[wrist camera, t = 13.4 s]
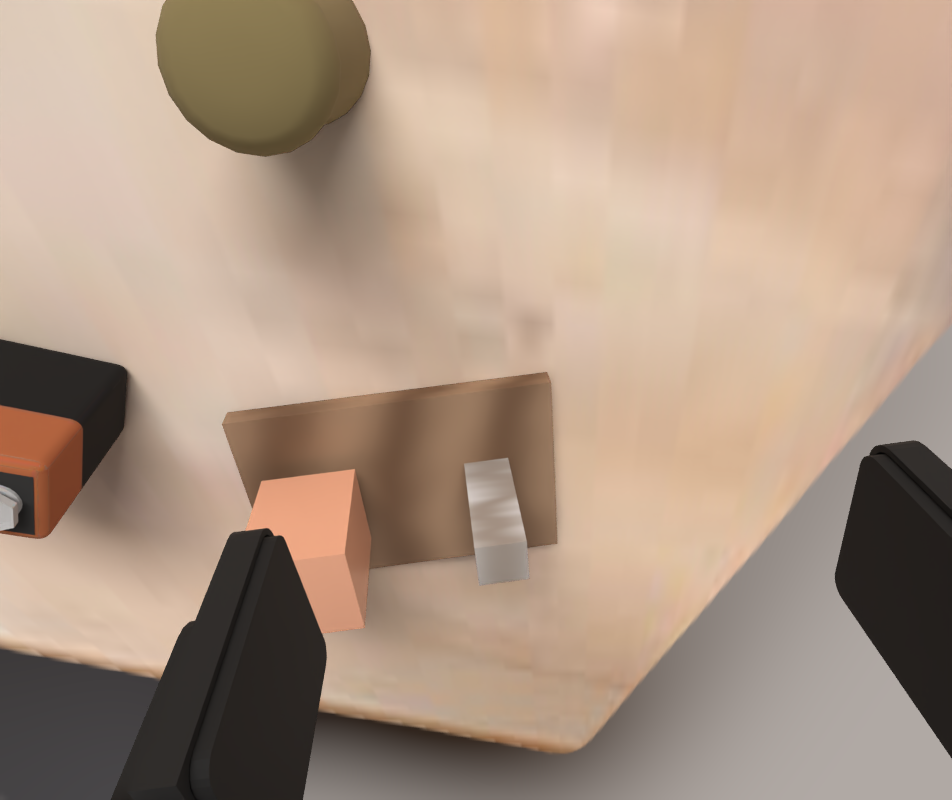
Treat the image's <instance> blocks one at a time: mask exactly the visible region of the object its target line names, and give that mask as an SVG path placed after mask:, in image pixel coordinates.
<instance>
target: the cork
mask: <svg viewBox="0 0 952 800" xmlns="http://www.w3.org/2000/svg"><path fill="white" fill-rule="evenodd" d="M156 44H157V57H158V66H159V69H160V72H161V74H162V77H163V80H164V83H165V85H166V88H167V91H168V93H169V95H170V97H171V98H172V100H173V101H174V103H175V104H176V106H177V107H178V108H179V110H180V111H181V113H182V114H183V116H184V117H185V118H186V120H187V121H188V122H189V123H191V124H192V125H193V126H194V127H195V128H197V129H198V130H199V131H200V132H201V133H202V134H204V135H205V136H206V137H207V138H208V139H209V140H211V141H214V142H216V143H218V144H220V145H222V146H224V147H226V148H229V149H231V150H233V151H235V152H238V153H244V154H251V155H258V156H265V157H266V156H271V155H277V154H282V153H288V152H291V151H293V150H295V149H297V148H298V147H300V146H302V145H303V144H305V143H307V142H309V141H310V140H312V139H313V138H314V137H315V135H316V134H317V133H318V132H319V131H320V129H321V128H322V127H323V126H324V125H325V124H329V123H331V122H333V121H334V120H336V119H338V118H339V117H341V116H343V115H345V114H346V113H347V112H348V111H349V110H350V109H351V108H352V106H353V105H354V104H355V103H356V102H357V100H358V99H359V98H360V97H361V94H362V92H363V89H364V86H365V84H366V81H367V79H368V76H369V66H370V51H371V50H370V46H369V41H368V36H367V31H366V27H365V24H364V22H363V20H362V18H361V16H360V14H359V12H358V10H357V8H356V7H355V5H354V3H353V1H352V0H166V1H165V3H164V4H163V6H162V10H161V14H160V19H159V23H158V27H157V31H156Z"/></svg>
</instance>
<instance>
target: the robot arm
mask: <svg viewBox="0 0 952 800" xmlns="http://www.w3.org/2000/svg"><path fill="white" fill-rule="evenodd" d="M835 583H836V586H837V589H838V592H839V594H840V596H841V598H842V599H843V601H844V602H845V604H846V605H847V606H848V608H849V609H850V611H851V612H852V614H853V615H854V617H855V618H856V620H857V621H858V622H859V624H860V625H861V627H862V628H863V630H864V631H865V633H866V634H867V636H868V637H869V639H870V640H871V641H872V643H873V644H874V646H875V647H876V649H877V650H878V652H879V653H880V655H881V656H882V657H883V659H884V660H885V661H886V663H887V665H888V666H889V668H890V669H891V670H892V672H893V673H894V674H895V676H896V678H897V679H898V680H899V682H900V684H901V685H902V687H903V688H904V689H905V691H906V692H907V694H908V695H909V697H910V698H911V700H912V701H913V703H914V704H915V705H916V707H917V708H918V710H919V711H920V713H921V714H922V716H923V717H924V718H925V720H926V722H927V723H928V724H929V726H930V727H931V729H932V730H933V732H934V733H935V734H936V736H937V738H938V739H939V740H940V742H941V743H942V745H943V746H944V748H945V749H946V750H947V752H948V754H949V755H950V756H951V758H952V469H951V468H950V467H948V466H947V465H946V464H945V463H944V462H943V461H942V460H941V459H939V458H938V457H937V456H936V455H935V454H934V453H933V452H932V451H931V450H929V449H928V448H927V447H926V446H925V445H923V444H921V443H920V442H918V441H906V442H899V443H891V444H885V445H878V446H875V447H874V448H873V449H872V450H871V453H870V455H869V456H866V457H864V458H863V459H862V461H861V464H860V468H859V472H858V477H857V481H856V485H855V489H854V494H853V498H852V503H851V507H850V511H849V515H848V520H847V524H846V529H845V533H844V537H843V541H842V546H841V550H840V555H839V559H838V563H837V567H836V572H835ZM326 658H327V653H326V644H325V640H324V638H323V635H322V632H321V630H320V627H319V625H318V622H317V620H316V617H315V615H314V612H313V610H312V607H311V604H310V602H309V599H308V597H307V594H306V592H305V589H304V587H303V584H302V582H301V579H300V576H299V574H298V571H297V569H296V566H295V564H294V561H293V559H292V556H291V553H290V551H289V548H288V546H287V543H286V541H285V539H284V537H283V536H282V535H278V536H274V535H273V533H272V531H271V530H270V529H269V528H263V529H255V530H248V531H241V532H233V533H232V534H231V535H230V536H229V538H228V540H227V542H226V545H225V547H224V550H223V552H222V555H221V557H220V560H219V562H218V565H217V567H216V570H215V572H214V575H213V577H212V580H211V582H210V585H209V587H208V590H207V592H206V595H205V597H204V600H203V603H202V605H201V608H200V610H199V613H198V615H197V618H196V620H195V621H192V622H189V623H188V624H187V625H186V626H185V627H183V629H182V631H181V633H180V635H179V636H178V639H177V641H176V643H175V646H174V648H173V651H172V653H171V656H170V658H169V660H168V663H167V665H166V668H165V670H164V672H163V675H162V677H161V680H160V682H159V684H158V687H157V689H156V692H155V694H154V697H153V699H152V702H151V704H150V706H149V709H148V711H147V713H146V716H145V718H144V721H143V723H142V725H141V728H140V730H139V733H138V735H137V738H136V740H135V742H134V745H133V747H132V750H131V752H130V754H129V757H128V759H127V762H126V764H125V766H124V769H123V772H122V774H121V776H120V779H119V781H118V784H117V786H116V788H115V791H114V793H113V795H112V798H111V800H303V795H304V790H305V784H306V778H307V772H308V766H309V760H310V754H311V749H312V743H313V737H314V731H315V725H316V720H317V714H318V708H319V702H320V696H321V690H322V685H323V679H324V673H325V667H326Z"/></svg>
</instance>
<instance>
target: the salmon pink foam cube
mask: <svg viewBox="0 0 952 800" xmlns="http://www.w3.org/2000/svg"><path fill="white" fill-rule="evenodd" d="M263 528H269V529H270V530H271V531H272V533H273V535H274V536H278V535H282V536H283V537H284V539H285V541H286V543H287V546H288V548H289V551H290V553H291V556H292V559H293V561H294V564H295V566H296V569H297V571H298V574H299V576H300V579H301V582H302V584H303V587H304V589H305V592H306V594H307V597H308V599H309V602H310V604H311V607H312V610H313V612H314V615H315V617H316V620H317V622H318V625H319V627H320V630H321V632H322V633H330V632H337V631H344V630H352V629H359V628H365V618H366V604H367V591H368V577H369V564H370V550H371V534H370V530H369V526H368V522H367V518H366V513H365V509H364V505H363V501H362V497H361V492H360V488H359V484H358V480H357V476H356V472H355V469H351V470H344V471H336V472H328V473H320V474H312V475H305V476H297V477H289V478H281V479H273V480H266V481H261V484H260V487H259V490H258V493H257V497H256V500H255V503H254V506H253V509H252V512H251V515H250V518H249V521H248V525H247V528H246V531H248V530H255V529H263Z"/></svg>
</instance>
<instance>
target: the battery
mask: <svg viewBox="0 0 952 800" xmlns="http://www.w3.org/2000/svg"><path fill="white" fill-rule="evenodd" d="M126 379H127V372H126V370H125V368H124V367H122V366H120V365H117V364H113V363H108V362H104V361H99V360H94V359H90V358H85V357H80V356H76V355H71V354H66V353H62V352H57V351H52V350H48V349H43V348H38V347H34V346H29V345H24V344H20V343H15V342H10V341H6V340H1V339H0V533H2V534H8V535H15V536H22V537H28V538H36V539H41V538H45V537H46V536H48V535H49V534H50V533H51V532H52V530H53V529H54V528H55V526H56V525H57V523H58V522H59V521H60V519H61V518H62V516H63V515H64V513H65V512H66V511H67V509H68V508H69V506H70V505H71V503H72V502H73V501H74V499H75V498H76V496H77V495H78V493H79V492H80V491H81V489H82V488H83V486H84V485H85V483H86V482H87V481H88V479H89V478H90V476H91V475H92V473H93V472H94V471H95V469H96V468H97V466H98V465H99V463H100V462H101V461H102V459H103V458H104V456H105V455H106V453H107V452H108V450H109V449H110V448H111V446H112V445H113V443H114V442H115V440H116V439H117V438H118V436H119V435H120V433H121V432H122V430H123V428H124V414H125V396H126Z"/></svg>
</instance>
